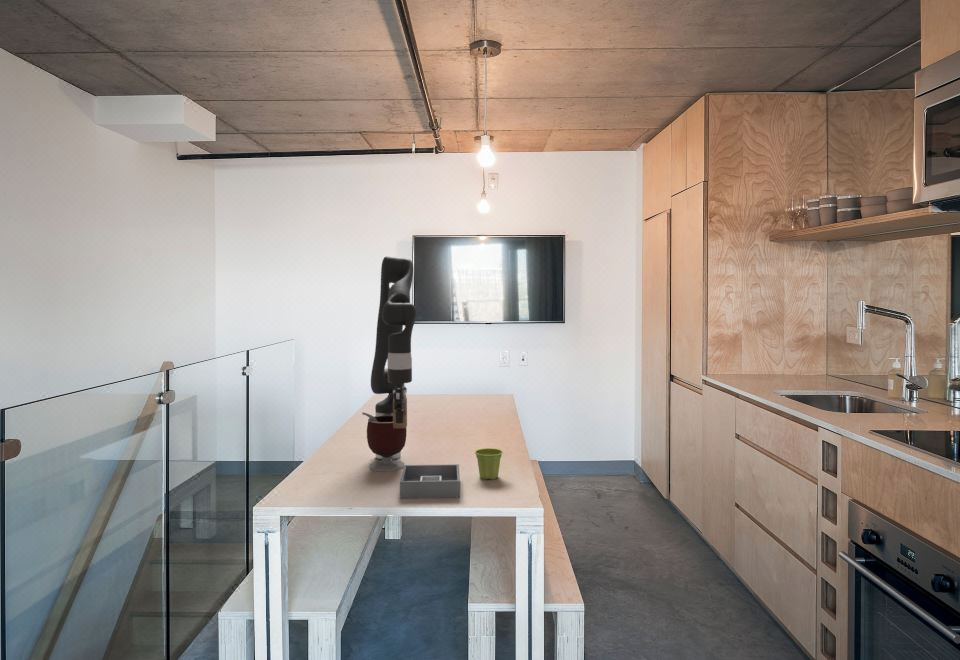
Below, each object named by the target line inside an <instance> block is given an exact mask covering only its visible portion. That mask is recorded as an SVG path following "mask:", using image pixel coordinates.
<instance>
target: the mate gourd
mask: <svg viewBox="0 0 960 660" xmlns="http://www.w3.org/2000/svg"><path fill="white" fill-rule="evenodd" d="M362 415H363V416H366V417H368V419H367V421H368V422H367V425H366V426H367V427H366V439H367V440H366V441H367V444H368V448H369V449H370V451H371V452H372V453H373V454H375V455H376V454H377V455H380V456H382V457H383V459H380V460H377V461H373V462H371V463H370V464H369V469H370V470H371V471H375V472H395V471H399V470H401V469H403V468H404V465H405V463H404V462H403V461H401V460H397V459H391V456H393V455H395V454H397V453H399V452H402V450H403V449H404V448H405V445H406V441H407V427H406V428H393V415H382V416H376V415H374V416H373V415H372V414H370V413H366V412H362Z"/></svg>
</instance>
